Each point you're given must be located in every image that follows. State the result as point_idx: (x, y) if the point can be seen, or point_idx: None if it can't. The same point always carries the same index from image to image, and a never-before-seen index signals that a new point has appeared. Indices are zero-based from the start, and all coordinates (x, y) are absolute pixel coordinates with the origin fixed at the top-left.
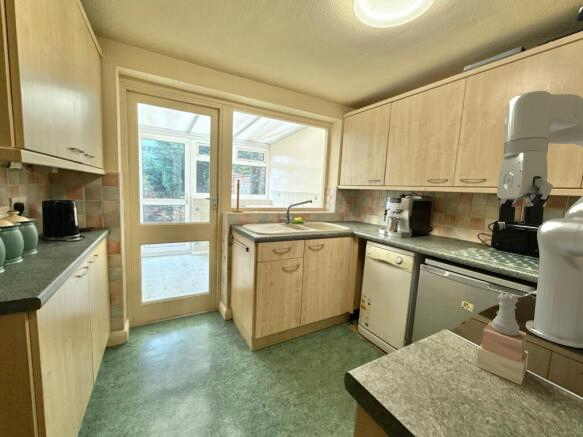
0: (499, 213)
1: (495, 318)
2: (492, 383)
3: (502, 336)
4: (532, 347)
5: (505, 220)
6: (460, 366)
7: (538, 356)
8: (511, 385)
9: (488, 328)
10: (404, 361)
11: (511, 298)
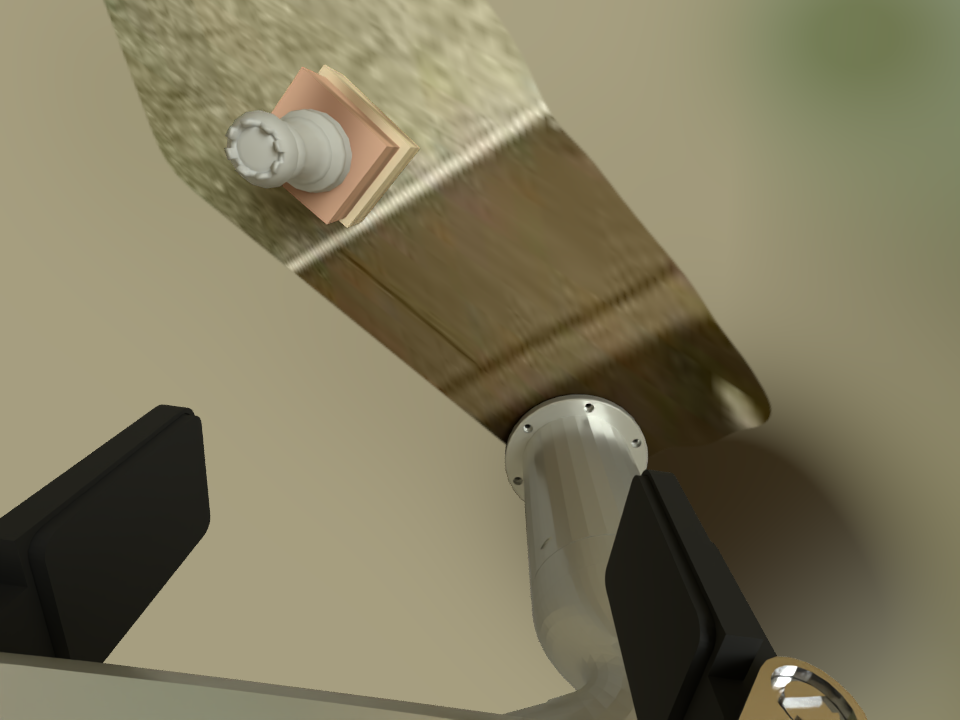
0: (692, 536)
1: (319, 125)
2: (271, 74)
3: (271, 113)
4: (491, 329)
5: (626, 522)
6: (328, 14)
7: (443, 309)
8: None
9: (322, 98)
10: None
11: (228, 143)
